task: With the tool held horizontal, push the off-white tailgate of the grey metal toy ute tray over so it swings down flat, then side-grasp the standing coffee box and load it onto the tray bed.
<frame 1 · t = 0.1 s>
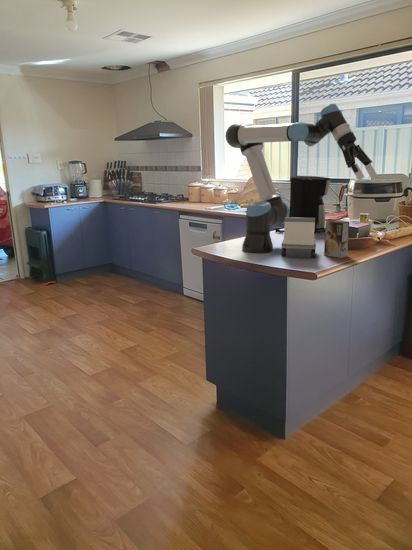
hand: (368, 178, 184), 36 cm above the countertop, tool tilted 35°, fingers open, 13 cm apart
tailgate: (299, 232, 193), point 12 cm above the countertop, hinge at 0.0°
coffee box: (335, 256, 201), on the countertop
bed: (298, 254, 203), on the countertop
coffee maker: (300, 230, 271), on the countertop
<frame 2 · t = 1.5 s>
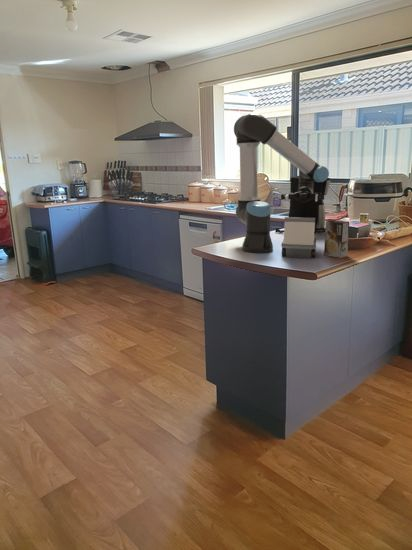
hand: (301, 198, 199), 26 cm above the countertop, tool horizontal, fingers open, 13 cm apart
nothing on the countertop moved.
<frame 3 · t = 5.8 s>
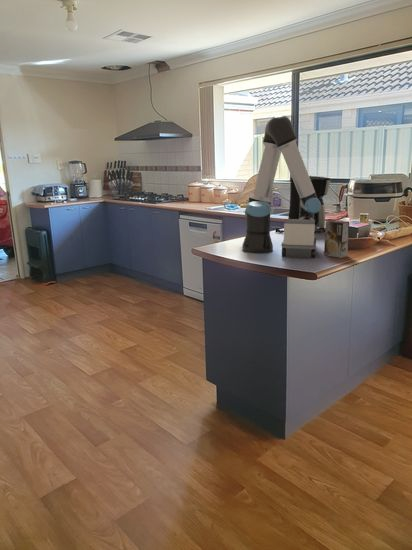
hand: (305, 232, 192), 12 cm above the countertop, tool horizontal, fingers closed
tailgate: (299, 233, 192), point 12 cm above the countertop, hinge at 15.3°, touching gripper
everything else where it was.
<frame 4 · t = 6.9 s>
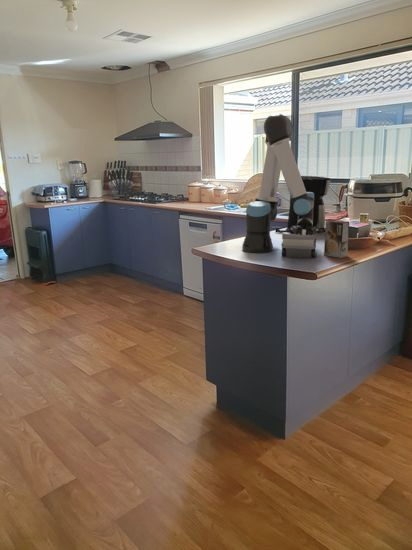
hand: (303, 234, 186), 12 cm above the countertop, tool horizontal, fingers closed
tailgate: (298, 241, 189), point 9 cm above the countertop, hinge at 61.3°
everything else where it was.
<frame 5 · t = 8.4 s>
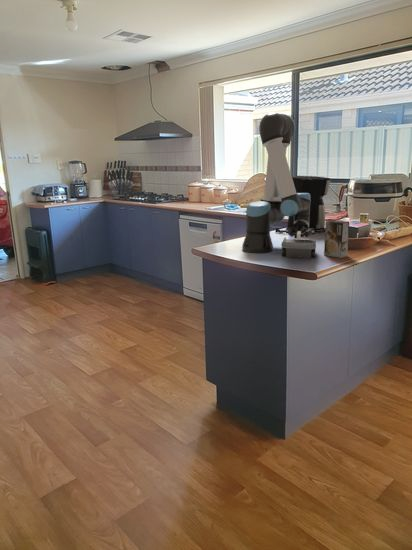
hand: (298, 236, 182), 12 cm above the countertop, tool horizontal, fingers closed
tailgate: (298, 245, 189), point 7 cm above the countertop, hinge at 77.6°
everything else where it was.
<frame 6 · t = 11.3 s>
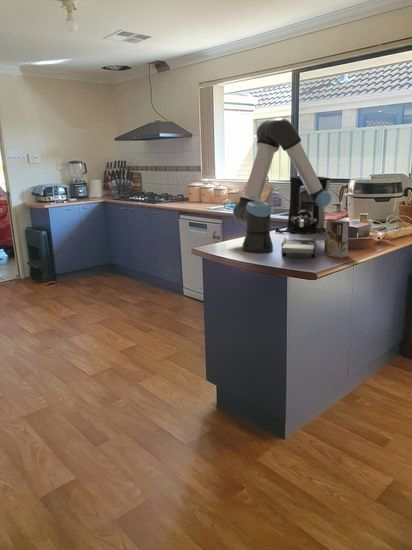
hand: (301, 224, 203), 14 cm above the countertop, tool horizontal, fingers closed
tailgate: (297, 248, 189), point 6 cm above the countertop, hinge at 90.1°
everything else where it was.
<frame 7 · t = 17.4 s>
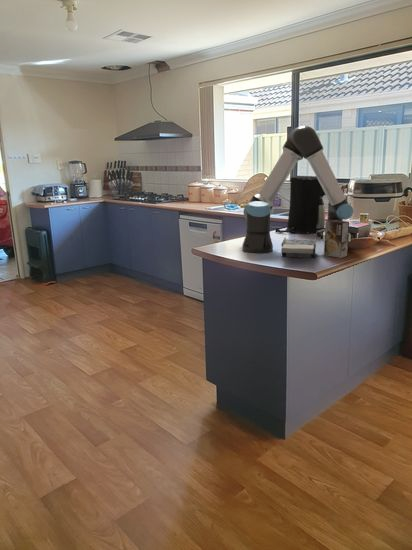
hand: (336, 238, 195), 9 cm above the countertop, tool horizontal, fingers closed on coffee box, 10 cm apart
coffee box: (335, 256, 201), on the countertop, touching gripper
everything else where it was.
when the fingers open (16 cm above the countertop, at t = 22.4 s): coffee box stays where it is, resting on bed.
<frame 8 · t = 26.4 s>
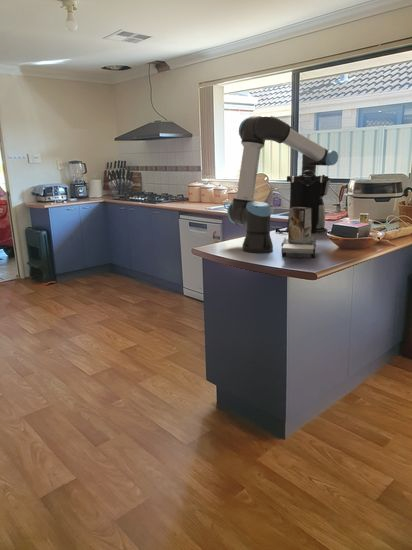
hand: (306, 179, 209), 34 cm above the countertop, tool horizontal, fingers open, 13 cm apart
coffee box: (299, 242, 203), point 6 cm above the countertop, touching bed
everything else where it was.
at the end: tailgate at +90° (first picture: +0°); coffee box inside the target area (0.8 cm from its centre), point 5.8 cm above the countertop; coffee box touching bed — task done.
